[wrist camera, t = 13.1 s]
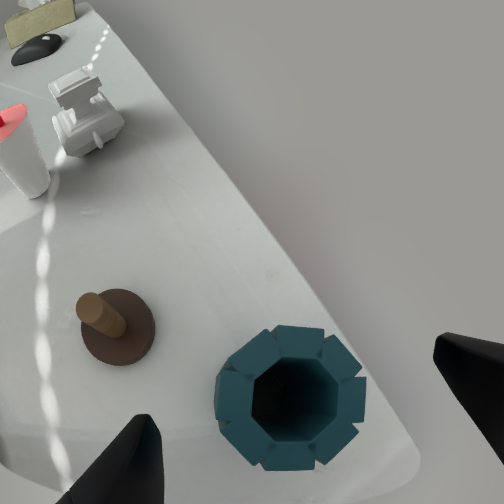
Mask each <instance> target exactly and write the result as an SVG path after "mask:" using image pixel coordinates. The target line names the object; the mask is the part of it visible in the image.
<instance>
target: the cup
mask: <svg viewBox="0 0 504 504" xmlns="http://www.w3.org/2000/svg"><path fill="white" fill-rule="evenodd" d="M0 169H1V170H2V172H3V173H4V174H5V175H6V176H7V177H8V178H9V179H10V180H11V182H12V183H13V184H14V185H15V186H16V187H17V188H18V189H19V190H20V191H21V192H22V193H23V194H24V195H25V196H26V197H27V198H29V199H34V198H37V197H39V196H40V195H42V194H43V193H44V192H45V191H46V190H47V188H48V186H49V184H50V175H49V173H48V170H47V168H46V165H45V162H44V160H43V157H42V154H41V152H40V149H39V146H38V144H37V141H36V138H35V135H34V132H33V129H32V126H31V124H30V120H29V117H28V114H27V107H26V105H24V104H16V105H12V106H10V107H8V108H6V109H4V110H3V111H1V112H0Z"/></svg>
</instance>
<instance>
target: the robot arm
mask: <svg viewBox="0 0 504 504" xmlns="http://www.w3.org/2000/svg"><path fill="white" fill-rule="evenodd" d="M433 360H434V363H435V365H436V366H437V368H438V370H439V371H440V373H441V374H442V376H443V378H444V379H445V381H446V382H447V384H448V386H449V387H450V389H451V391H452V392H453V394H454V395H455V397H456V398H457V400H458V401H459V402H460V404H461V405H462V406H463V407H464V409H465V410H466V412H467V413H468V414H469V416H470V417H471V418H472V420H473V421H474V423H475V424H476V425H477V427H478V428H479V430H480V431H481V432H482V434H483V435H484V437H485V438H486V440H487V441H488V443H489V444H490V445H491V447H492V448H493V449H494V451H495V453H496V454H497V455H498V457H499V459H500V460H501V462H502V463H503V465H504V344H500V343H496V342H490V341H486V340H481V339H476V338H472V337H467V336H462V335H458V334H453V333H449V332H446V333H444V334H441V335H440V336H438V337H437V338H436V342H435V348H434V353H433ZM56 504H164V467H163V454H162V439H161V434H160V431H159V429H158V428H157V426H156V424H155V422H154V421H153V419H152V417H151V416H150V415H149V414H138V415H135V416H134V417H133V418H132V419H131V421H130V422H129V423H128V424H127V425H126V426H125V427H124V429H123V430H122V431H121V432H120V433H119V434H118V435H117V436H116V438H115V439H114V440H113V441H112V442H111V443H110V444H109V446H108V447H107V448H106V449H105V450H104V451H103V452H102V453H101V455H100V456H99V457H98V458H97V459H96V460H95V461H94V462H93V463H92V465H91V466H90V467H89V468H88V469H87V470H86V471H85V472H84V473H83V475H82V476H81V477H80V478H79V479H78V480H77V481H76V482H75V483H74V485H73V486H72V487H71V488H70V489H69V491H67V492H66V493H65V494H64V495H63V497H62V498H61V499H60V500H59V501H58V502H57V503H56Z"/></svg>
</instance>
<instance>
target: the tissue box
mask: <svg viewBox="0 0 504 504" xmlns="http://www.w3.org/2000/svg"><path fill="white" fill-rule="evenodd" d="M74 3H75V2H74V0H19V1H18V2H17V4H18V5H19V6H20V7H25V8H27V9H25V10H23V11H21V12H19V13H17V14H15V15H13V16H11V17H10V18H9V20H8V21H7V22H6V24H5V25H4V27H5V31H6V35H7V38H8V41H9V44H10V48H11V49H13V48H15V47H17V46H19V45H21V44H23V43H25V42H27V41H28V40H30V39H31V38H33V37H35V36H38V35H41V34H44V33H46V32H48V31H50V30H53V29H55V28H58V27H60V26H63V25H65V24H68V23H70V22H73V21H75V20H76V15H75V7H74Z"/></svg>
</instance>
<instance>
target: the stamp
mask: <svg viewBox="0 0 504 504" xmlns="http://www.w3.org/2000/svg"><path fill="white" fill-rule="evenodd" d="M100 86H102V84H101V82H100V80H99V78H98V76H97V75H95V74H94V73H93V72H92V71H90V70H89V69H88V68H87V67H85V66H82V67H80V68H78V69H76V70H74V71H72V72H70V73H68V74H66V75H64V76H63V77H61V78H59V79H57V80H55V81H54V82H52V83H50V84H48V87H49V89H50V91H51V93H52V94H53V96H54V97H55V99H56V100H57V102H58V103H59V105H60V106H61V107H64V110H62V111H61V112H59V113H57V114H56V115H54V116H53V118H52V122H53V126H54V128H55V130H56V133H57V135H58V137H59V139H60V141H61V144H62V146H63V148H64V150H65V152H66V154H67V156H75V157H79V158H80V157H82V156H83V155H85V154H87V153H88V152H90V151H92V150H93V149H95V148H97V147H98V148H99V149H102V148H103V144H104V143H106V142H108V141H109V140H111V139H113V138H115V137H116V135H117V133H118V132H119V131H120V130H121V128H122V127H123V125H124V124H125V122H124V119H123V118H122V117H121V115H120V114H119V113H118V112H117V111H116V109H115V108H114V107H113V106H112V105H111V103H110V102H109V101H108V100H107V99H106V97H105V96H104V95H103V94H102V93H101V92H100V91H98V87H100Z"/></svg>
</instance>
